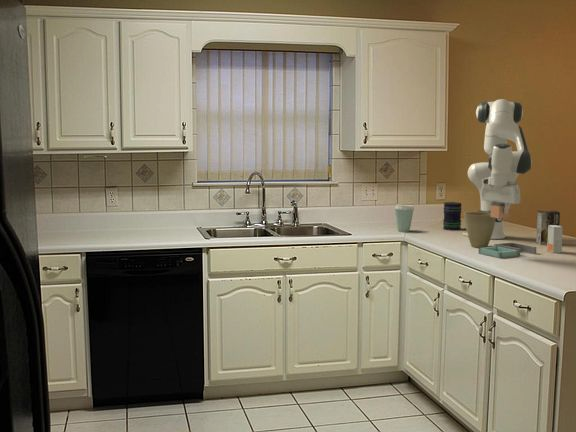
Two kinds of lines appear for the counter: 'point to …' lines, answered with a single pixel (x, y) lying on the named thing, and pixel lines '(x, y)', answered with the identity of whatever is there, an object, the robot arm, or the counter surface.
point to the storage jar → (452, 216)
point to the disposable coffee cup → (404, 217)
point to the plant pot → (479, 228)
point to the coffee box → (546, 224)
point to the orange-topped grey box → (498, 210)
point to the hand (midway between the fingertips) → (499, 212)
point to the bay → (518, 247)
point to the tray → (498, 252)
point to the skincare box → (554, 239)
